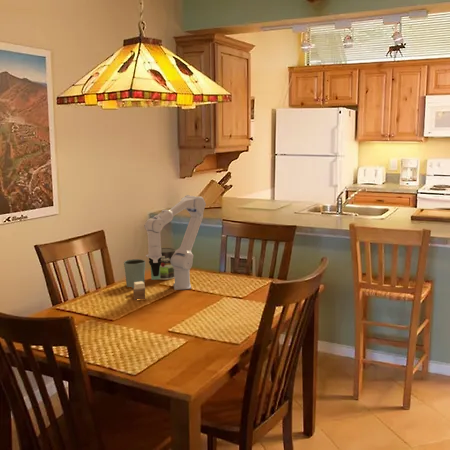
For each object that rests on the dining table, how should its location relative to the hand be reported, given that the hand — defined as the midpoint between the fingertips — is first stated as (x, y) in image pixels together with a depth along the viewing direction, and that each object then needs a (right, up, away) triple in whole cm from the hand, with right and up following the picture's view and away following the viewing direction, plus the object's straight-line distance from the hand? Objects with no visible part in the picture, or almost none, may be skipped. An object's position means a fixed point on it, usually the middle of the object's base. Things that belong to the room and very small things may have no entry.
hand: (155, 274), depth 248 cm
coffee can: (+1, -4, +31) cm, 31 cm away
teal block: (0, -2, 0) cm, 2 cm away
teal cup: (-12, -7, +17) cm, 22 cm away
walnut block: (-7, -11, -3) cm, 13 cm away
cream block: (-8, -9, +5) cm, 13 cm away
